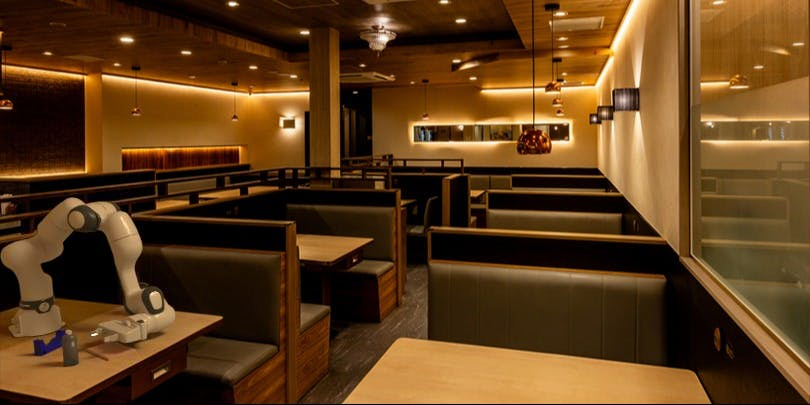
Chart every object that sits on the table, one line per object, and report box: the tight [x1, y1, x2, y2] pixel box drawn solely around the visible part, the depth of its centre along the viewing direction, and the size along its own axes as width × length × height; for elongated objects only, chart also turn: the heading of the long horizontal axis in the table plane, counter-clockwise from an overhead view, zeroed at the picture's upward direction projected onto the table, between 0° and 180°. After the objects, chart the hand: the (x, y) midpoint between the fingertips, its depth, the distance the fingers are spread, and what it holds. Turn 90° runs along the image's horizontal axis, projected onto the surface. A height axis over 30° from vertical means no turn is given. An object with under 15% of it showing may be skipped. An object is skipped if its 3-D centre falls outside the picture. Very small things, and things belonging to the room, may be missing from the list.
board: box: [86, 341, 137, 362], centre depth 209 cm, size 16×10×1 cm, turn 54°
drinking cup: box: [136, 270, 149, 289], centre depth 252 cm, size 8×8×20 cm
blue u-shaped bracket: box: [32, 328, 67, 357], centre depth 212 cm, size 12×4×6 cm, turn 169°
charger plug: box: [61, 329, 80, 368], centre depth 197 cm, size 5×5×12 cm
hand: (97, 337), depth 205 cm, fingers open, 8 cm apart
